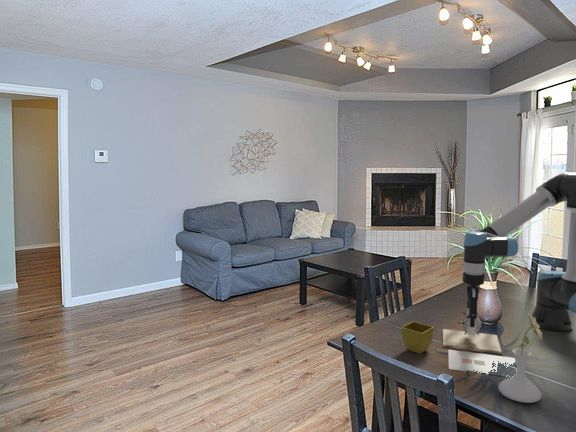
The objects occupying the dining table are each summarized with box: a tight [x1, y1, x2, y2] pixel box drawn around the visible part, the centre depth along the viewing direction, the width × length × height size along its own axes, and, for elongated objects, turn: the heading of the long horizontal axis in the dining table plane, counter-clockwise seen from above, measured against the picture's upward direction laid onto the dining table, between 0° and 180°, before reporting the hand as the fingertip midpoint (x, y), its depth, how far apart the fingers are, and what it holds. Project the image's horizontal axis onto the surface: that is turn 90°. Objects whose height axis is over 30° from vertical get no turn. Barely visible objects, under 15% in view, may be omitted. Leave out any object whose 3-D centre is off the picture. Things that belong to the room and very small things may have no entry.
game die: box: [457, 311, 485, 335], centre depth 169 cm, size 9×8×10 cm
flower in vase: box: [497, 312, 543, 404], centre depth 130 cm, size 13×11×25 cm
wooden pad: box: [442, 328, 502, 355], centre depth 170 cm, size 20×16×1 cm
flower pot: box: [401, 321, 435, 354], centre depth 163 cm, size 9×9×9 cm
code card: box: [447, 349, 516, 378], centre depth 152 cm, size 22×16×1 cm
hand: (470, 329), depth 169 cm, fingers closed on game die, 9 cm apart
